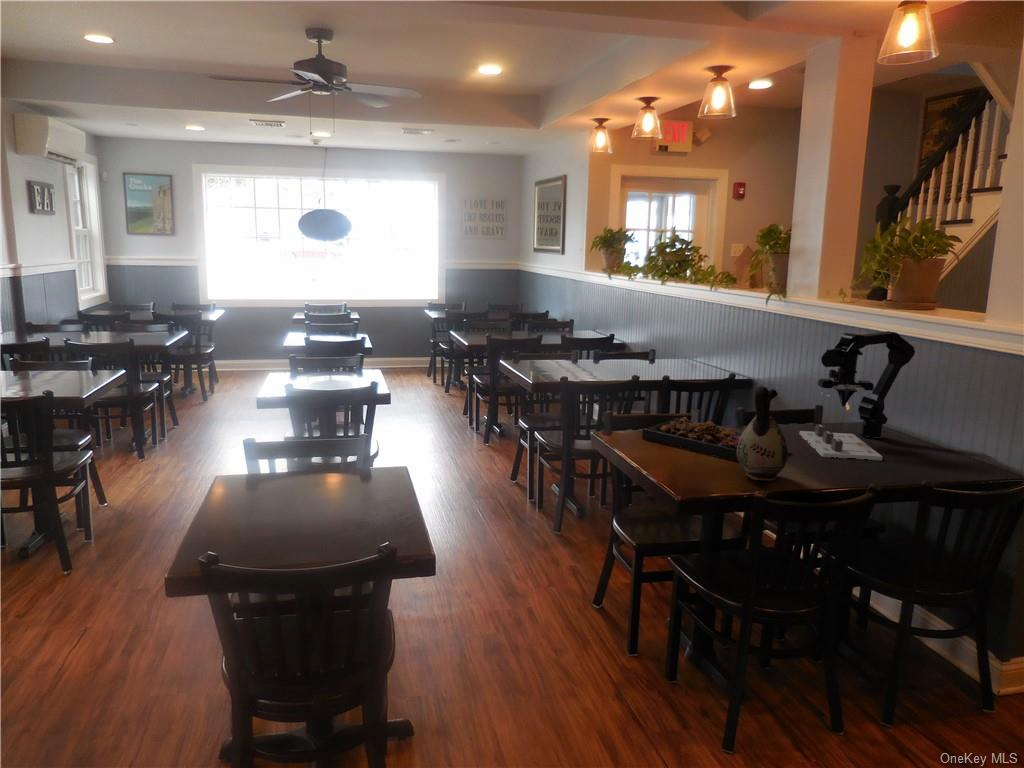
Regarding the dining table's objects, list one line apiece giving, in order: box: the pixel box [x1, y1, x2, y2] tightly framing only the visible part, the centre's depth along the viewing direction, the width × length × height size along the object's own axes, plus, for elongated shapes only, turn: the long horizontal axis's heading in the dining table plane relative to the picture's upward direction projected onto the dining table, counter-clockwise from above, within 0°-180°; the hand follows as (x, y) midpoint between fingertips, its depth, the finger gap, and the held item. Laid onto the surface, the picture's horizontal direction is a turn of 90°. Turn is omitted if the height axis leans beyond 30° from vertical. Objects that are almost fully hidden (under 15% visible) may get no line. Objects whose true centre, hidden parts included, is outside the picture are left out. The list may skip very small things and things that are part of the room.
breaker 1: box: [814, 424, 826, 436], centre depth 276 cm, size 2×4×4 cm, turn 173°
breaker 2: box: [831, 438, 843, 451], centre depth 257 cm, size 2×4×4 cm, turn 173°
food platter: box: [641, 416, 743, 462], centre depth 263 cm, size 45×25×10 cm, turn 48°
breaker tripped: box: [822, 430, 834, 443], centre depth 267 cm, size 2×4×4 cm, turn 173°
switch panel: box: [799, 430, 883, 462], centre depth 267 cm, size 20×30×2 cm, turn 173°
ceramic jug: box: [737, 385, 789, 482], centre depth 226 cm, size 17×15×30 cm
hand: (842, 406), depth 275 cm, fingers closed
